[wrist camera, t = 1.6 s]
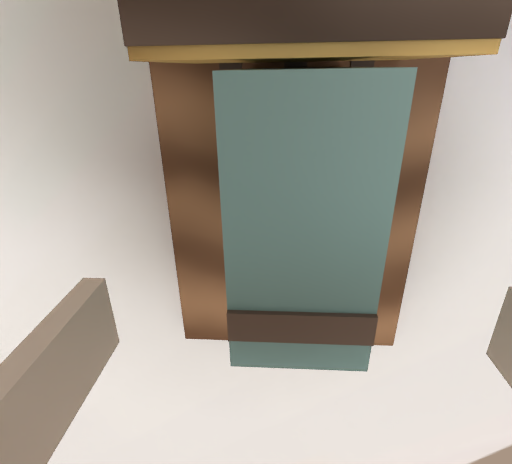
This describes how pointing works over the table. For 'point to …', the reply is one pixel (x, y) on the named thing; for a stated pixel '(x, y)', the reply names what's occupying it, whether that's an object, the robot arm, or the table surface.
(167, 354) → the table surface
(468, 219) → the table surface
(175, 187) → the board
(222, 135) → the stub
